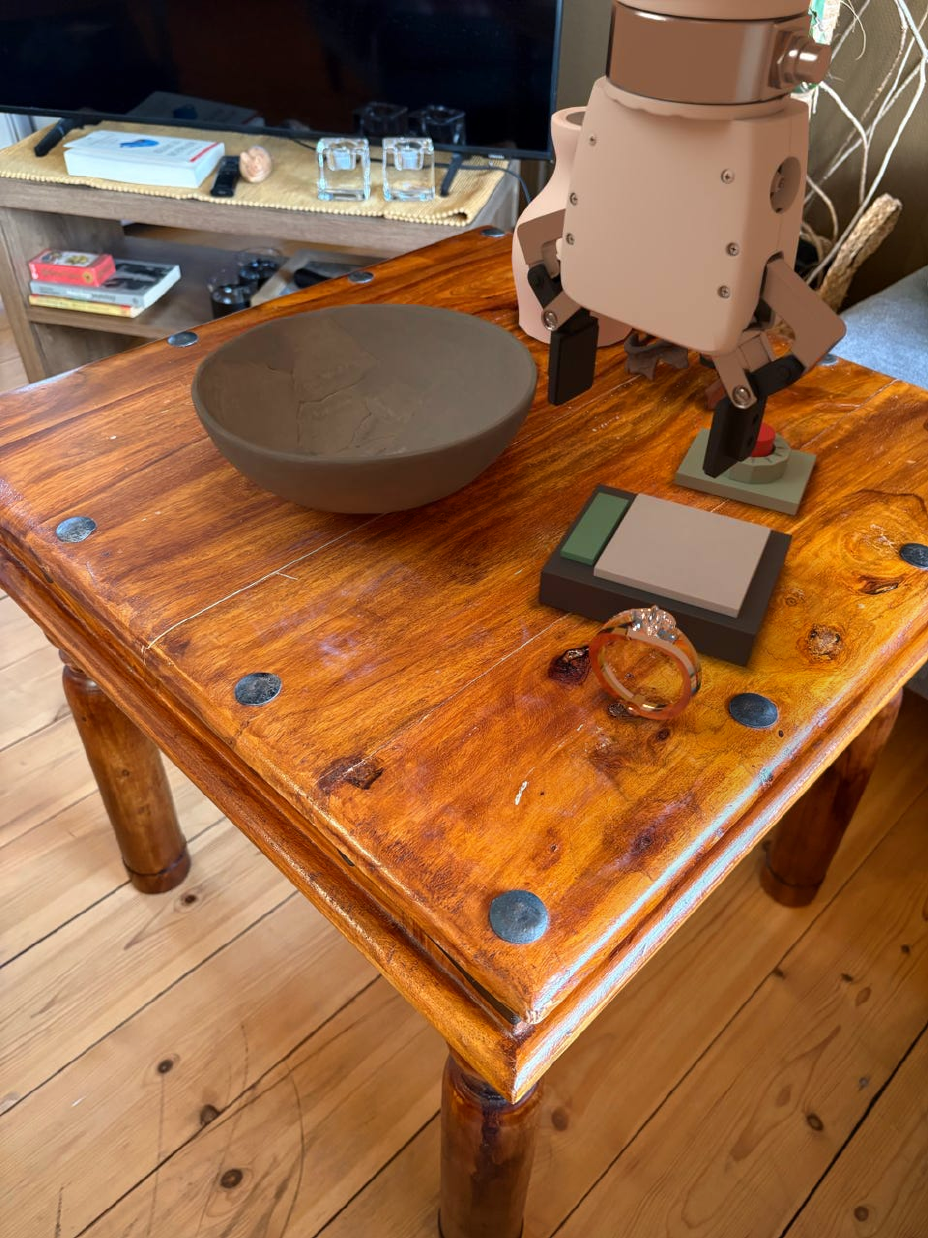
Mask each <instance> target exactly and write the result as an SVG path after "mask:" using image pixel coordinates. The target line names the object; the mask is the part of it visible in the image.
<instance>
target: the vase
mask: <svg viewBox="0 0 928 1238" xmlns="http://www.w3.org/2000/svg"><path fill="white" fill-rule="evenodd" d="M586 108H587V105H585V106H573V107H572V106H571V107H568V108H564V109H560V110H557V111H556V112H554V113H553V114H552V115H551V120H550V132H551V133H550V135H551V139H552V144H553V148H554V153H555V158H556V159H555V160H556V161H555V167H554V170H553V173H552V175H551V177H550V178H549V181H548V182H547V184H546V185H545V186H544V188H543V189H542V190H541V191H540V193H539V194H537V195H536V196H535V198H534V199H533V200H532V201H531V202H530V203H529V204H528V205H527V206H526V207H525V209H524V210H523V211H522V213H521V215H520V216H519V217H518V220H517V222H516V225H515V227H514V232H513V236H512V248H511V249H512V250H511V265H512V274H513V281H514V286H515V291H516V297H517V303H518V313H519V319H518V325H519V327H520V328H521V329H522V330H523V332H525V334H526V335H528V336H529V337H532V338H534V339H535V340H538V341H540V342H541V343H544V344H549V345H550V338H551V331H549V330H547V329H546V328H545V327H544V326H543V324H542V321H541V313H542V311H543V308H542V306H541V305H540V303H539V301H538V299H537V297H536V296H535V294H534V292H533V290H532V289H531V287H530V285H529V283H528V279H527V273H528V270H529V266H528V265H526V263H525V260H524V256H523V253H522V250H521V246H520V243H519V239H518V236H517V228H518V226H519V225H520V224H522V223H524V222H527V221H530V220H532V219H535V218H537V217H540V216H543V215H546V214H549V213H552V212H555V211H558V210H561V209H564V208H566V204H567V198H568V191H569V185H570V179H571V174H572V168H573V162H574V157H575V153H576V148H577V143H578V139H579V134H580V131H581V127H582V123H583V119H584V115H585V112H586ZM561 247H562V238H560V239H557V241H556V249H557V252H558V254H556V256H557V259H559V260H560V261H561ZM590 316H594V317H596V318H599V319H598V325H599V335H598V344H597V348H600V347H606V346H607V347H608V346H611V345H613V344H616V343H617V342H620V341H622V340H625V338H627V336H628V335H629V334H630V333H631V331H632V330H633V328H632V327H629V326H627V325H624V324H622V323H619V322H617V321H614V320H612V319H609V318H607V317H604V316H602V315H599V314H597V313H594V312H592V311H591V312H590Z"/></svg>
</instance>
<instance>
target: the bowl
mask: <svg viewBox="0 0 928 1238" xmlns="http://www.w3.org/2000/svg"><path fill="white" fill-rule="evenodd" d="M537 390H538V369H537V364H536V361H535V359H534V356H533V354H532V353H531V351H530V349H529V348H528V346H527V345H526V344H525V343H524V342H523V341H522V340H521V339H520V338H519V337H518V336H516V335H515V334H514V333H512V332H511V331H510V330H508V329H506V328H504V327H502V326H501V325H499V324H496V323H495V322H492V321H490V320H487V319H485V318H482V317H478V316H476V315H473V314H471V313H468V312H467V313H466V312H462V311H459V310H455V309H450V308H445V307H444V308H443V307H439V306H432V305H425V304H413V303H412V304H411V303H389V302H388V303H386V302H385V303H384V302H383V303H381V302H379V303H356V304H355V303H353V304H343V305H333V306H329V307H328V306H327V307H323V308H319V309H314V310H308V311H304V312H299V313H295V314H291V315H287V316H283V317H277V318H274V319H270V320H268V321H265V322H262V323H260V324H257V325H255V326H253V327H251V328H249V329H247V330H245V331H244V332H242V333H240V334H239V335H236V336H235V337H233V338H232V339H229V340H228V341H227V342H225V343H223V344H222V345H220V346H218V347H217V348H215V349H214V350H213V351H211V352H210V353H209V354H208V355H206V356H205V357H204V358H203V359H202V361H201V362H199V364H198V366H197V368H196V371H195V374H194V376H193V379H192V382H191V386H190V394H191V395H190V396H191V401H192V404H193V408H194V410H195V412H196V415H197V417H198V419H199V422H200V423H201V426H202V427H203V428H204V430H205V432H206V434H207V436H208V437H209V439H210V441H212V443H213V444H214V446H215V447H216V449H217V450H218V451H219V453H220V454H221V455H222V456H223V458H224V459H225V460H226V461H227V462H228V463H229V464H230V465H231V466H232V467H233V468H234V469H235V470H237V471H238V472H239V473H240V474H241V475H242V476H243V477H245V478H246V479H247V480H249V481H250V482H252V483H253V484H255V485H256V486H257V487H259V488H261V489H263V490H264V491H267V492H268V493H270V494H272V495H274V496H276V497H279V498H281V499H283V500H286V501H288V502H291V503H294V504H296V505H299V506H302V507H305V508H310V509H313V510H318V511H321V512H329V513H337V514H338V513H339V514H358V515H359V514H388V513H394V512H402V511H407V510H410V509H414V508H418V507H422V506H424V505H428V504H430V503H433V502H436V501H439V500H441V499H443V498H446V497H447V496H450V495H452V494H454V493H456V492H458V491H460V490H462V489H463V488H465V487H467V486H468V485H469V484H470V483H472V482H473V481H474V480H475V479H477V478H478V477H479V476H480V475H481V474H483V473H484V472H485V471H486V470H487V469H488V468H489V467H490V466H491V465H492V464H493V463H495V461H496V460H497V459H498V458H499V457H500V456H501V455H502V454H503V453H504V451H505V450H506V449H507V448H508V447H509V446H510V445H511V444H512V442H513V440H515V437H517V435H518V434H519V432H520V430H521V428H522V427H523V425H524V423H525V422H526V420H527V418H528V415H529V413H530V412H531V408H532V407H533V404H534V402H535V399H536V394H537Z"/></svg>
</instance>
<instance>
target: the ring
mask: <svg viewBox="0 0 928 1238" xmlns="http://www.w3.org/2000/svg"><path fill="white" fill-rule="evenodd" d="M628 622H632V626H634V627H630V626H628V628H627V629H624V628H618V626H620V625H622V624H624V623H628ZM658 622H659V623H658ZM631 641H633V642H636V643H638V644H641V645H645V646H648V647H650V648H653V649H655V650H657V651H660V652H662V653H664V654H665V655H666V656H668V657H669V658H671V660H672V661H674V663H675V664H676V666H677V667H678V669H679V672H680V674H681V678H682V684H683V685H682V688H683V689H682V695H681V697H680V698H678V699H677V700H675V701H673V702H671V703H666V704H659V703H653V702H650V701H647V699H646V698H645V697H644V696H643V695H642V694H639V693H634V694H633V693H631V691H629V690H628V689H626V687H624V685H622V684H621V683H620V682H619V680H618V679H617V678H616V677H615V675H614V674H613V672H612V670H611V668H610V665H609V663H608V660H607V656H606V644H609V643H614V642H631ZM588 658H589V663H590V666H591V668H592V671H593V673H594V675H595V677H596V678H597V680H598V682H599V684H600V685H601V687H602V688H603V689H604V690H605V691H606V692H607V693H608V694H609V696H611V697H612V698H613V699H614V700H615V701H616V702H617V703H618V704H620V705H621V706H623V707H624V708H626V710H625V711H627V712H628V713H629V714H630V715H632V716H635V717H638V715H639V716H641V717H644V718H648V719H652V720H668V719H673V718H675V717H677V716H679V715H680V714H681V713H683V712H684V711H685V710H686V709H687V708H688V707H689V706H690V705H691V704H692V702H694V700H695V699H696V697H697V695H698V693H699V691H700V689H701V686H702V680H703V679H702V678H703V670H702V665H701V664H702V663H701V661H700V658H699V655H698V652H696V650H695V649H694V647H693V645H692V644H691V642H690V641H689V640H688V638H687V637H686V636H685V635H684V634H683V633H682V632H681V631H680V630H679V629H678V628H677V627H676V621H675V619H674V618H673V616H672V615H670V614H669V613H667V612H665V611H663V610H660V609H659V608H658V607H657V606H656V605H654V606H653V607H652V608H642V609H631V610H627V611H623V612H621V613H619V614H617V615H615V616H613V617H612V618H611V619H610V620H609V621H608V622H607V623H604V625H602V626H601V628H600V629H599V630H598V632H597V633H596V634H595V635H594V636H593V637H592V639H591V640H590V642H589V644H588Z"/></svg>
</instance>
